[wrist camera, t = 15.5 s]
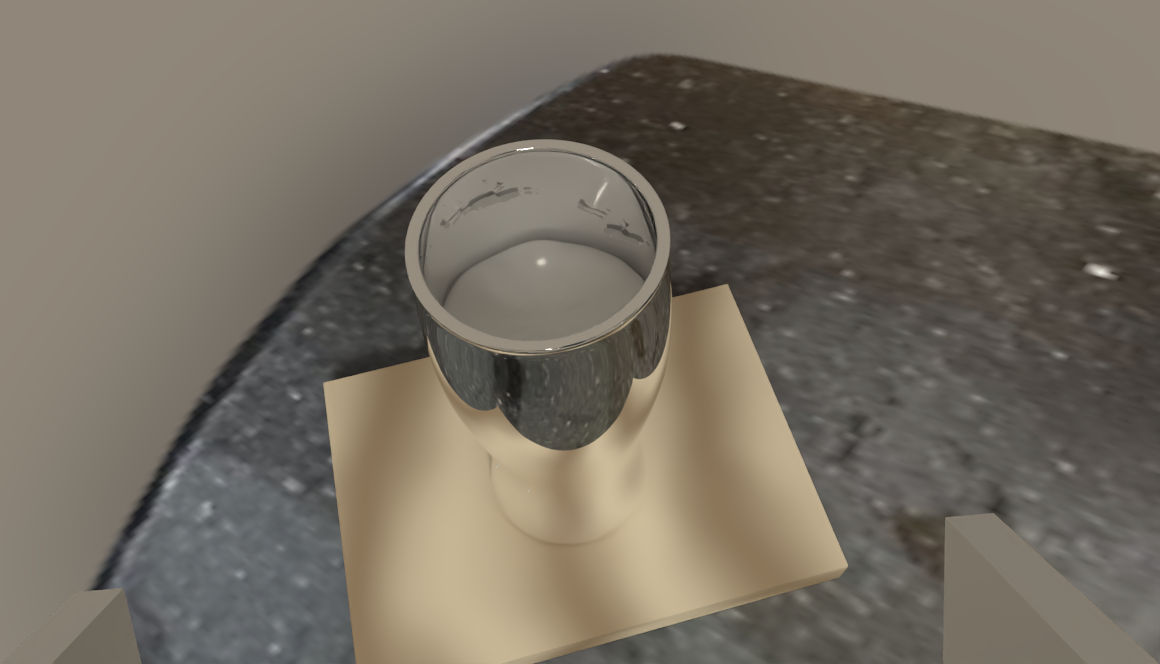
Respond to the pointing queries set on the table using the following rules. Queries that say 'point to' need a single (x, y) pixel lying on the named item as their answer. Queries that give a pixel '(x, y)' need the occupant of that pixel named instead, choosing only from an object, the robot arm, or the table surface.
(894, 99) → the table surface
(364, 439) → the board
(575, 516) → the beer glass
